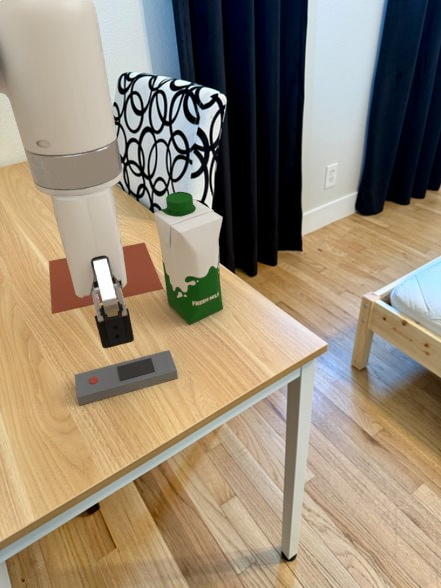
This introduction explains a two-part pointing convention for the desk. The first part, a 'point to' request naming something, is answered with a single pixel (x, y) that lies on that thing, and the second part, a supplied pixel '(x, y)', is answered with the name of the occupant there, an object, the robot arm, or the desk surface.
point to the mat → (64, 297)
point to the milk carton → (190, 256)
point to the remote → (124, 377)
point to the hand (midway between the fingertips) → (111, 314)
